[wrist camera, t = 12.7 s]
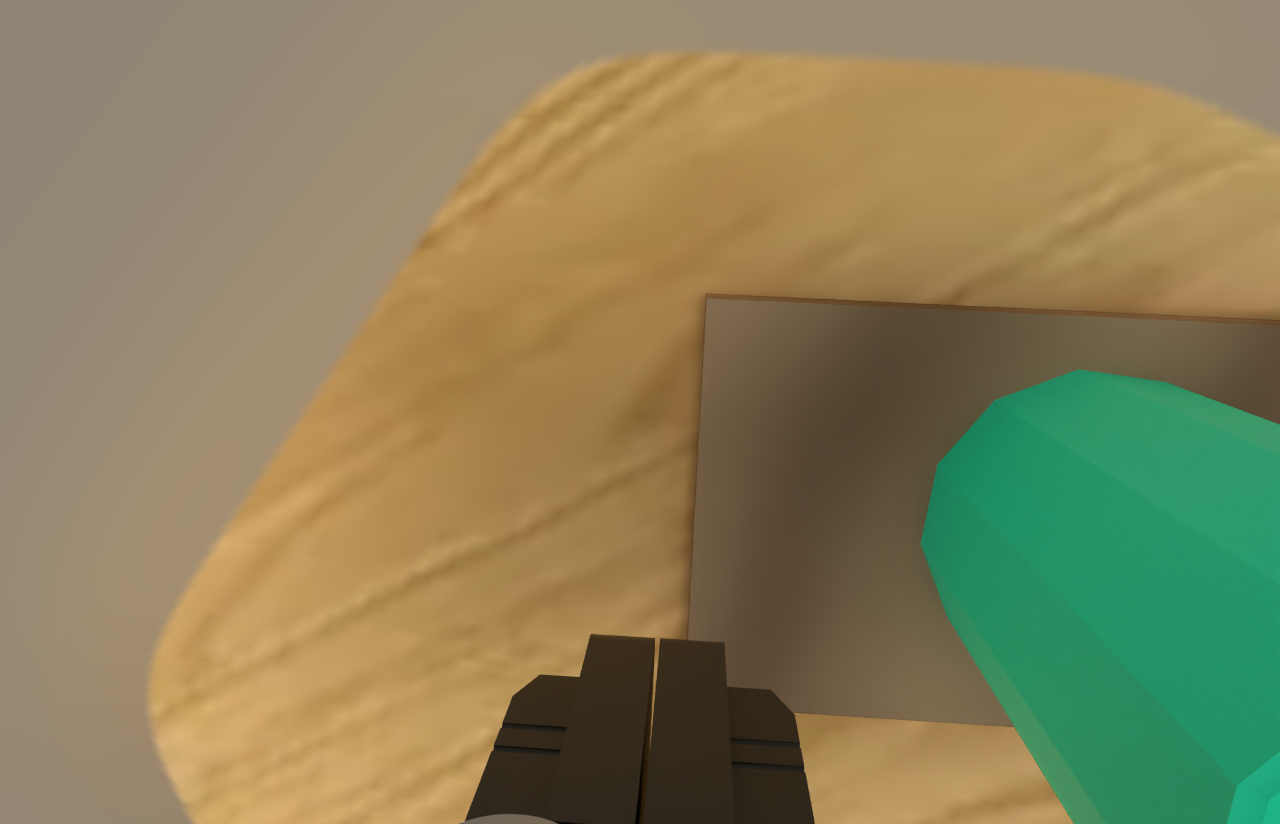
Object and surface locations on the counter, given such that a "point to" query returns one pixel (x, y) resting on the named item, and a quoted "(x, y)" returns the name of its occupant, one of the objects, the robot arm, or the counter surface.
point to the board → (886, 476)
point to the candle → (1122, 592)
